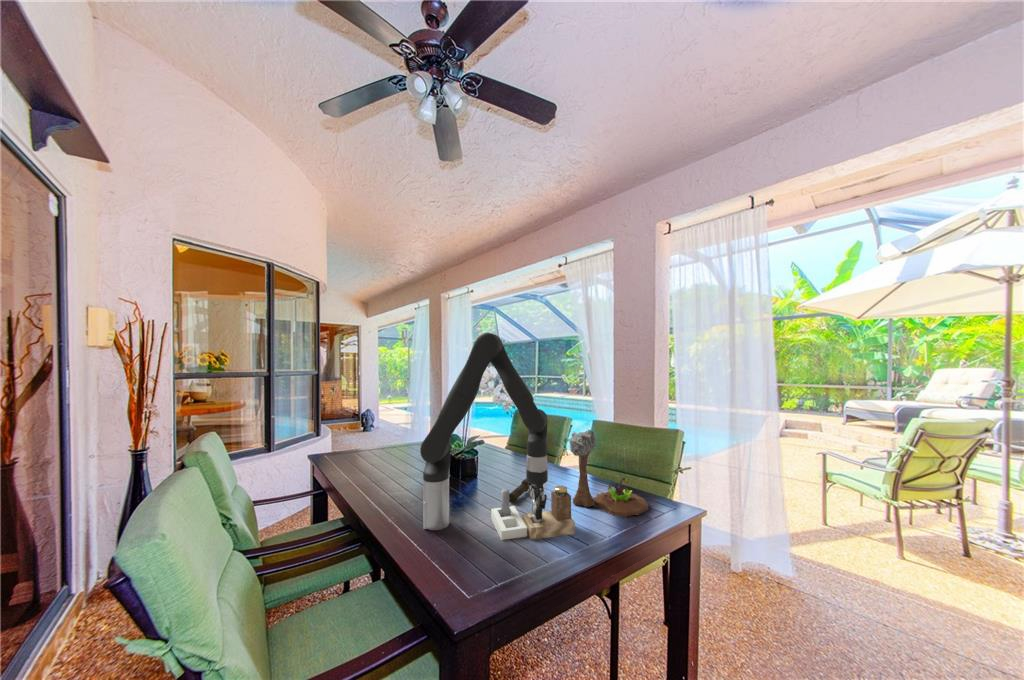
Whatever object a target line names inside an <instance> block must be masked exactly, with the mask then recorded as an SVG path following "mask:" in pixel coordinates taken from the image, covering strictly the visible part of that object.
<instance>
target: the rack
mask: <svg viewBox="0 0 1024 680" xmlns="http://www.w3.org/2000/svg"><path fill="white" fill-rule="evenodd" d="M500 493H501V494H500V497H501V498H500V500H501V501H500V504H501V507H495V508H491V511H490V512H491V514H490V515H491V516H490V517H491V521H492V523H493V525H494V527H495V529H496V531H497V533H498V535H499V537H500V540H502V541H504V540H511V539H520V538H525V537H528V535H527V527H526V525H525V523H524V522H523V520H522V517H521V515H520V513H519V512H518V510H517V508H516V506H515V505H510V502H509V493H510V489H508V488H503V489H501V490H500Z"/></svg>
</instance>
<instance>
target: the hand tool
mask: <svg viewBox="0 0 1024 680" xmlns="http://www.w3.org/2000/svg"><path fill="white" fill-rule="evenodd" d="M528 491H529V486H528V482H527V480H526V478H525V479H523V480H522V481H521V483H520V484H519V486H517V487H516V488H515V489H513V490H512V491H511V492H509V504H510V503H511V504H513V503H516V501H517V500H518V499H519V498H520V496H522V495H523V494H524V493H525V492H526V493H527V492H528Z"/></svg>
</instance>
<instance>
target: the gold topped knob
mask: <svg viewBox="0 0 1024 680" xmlns="http://www.w3.org/2000/svg"><path fill="white" fill-rule="evenodd" d="M554 491H555V492H557V495H558V496H565V493H566V492H568V487H567V486H565V485H556V486H554Z"/></svg>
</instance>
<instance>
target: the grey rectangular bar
mask: <svg viewBox="0 0 1024 680" xmlns="http://www.w3.org/2000/svg"><path fill="white" fill-rule="evenodd" d="M536 499H538V498H536ZM532 504H533V523H540V522H542V519H539V520H537V519H536V508H535V501H534V499H533V503H532Z"/></svg>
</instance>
